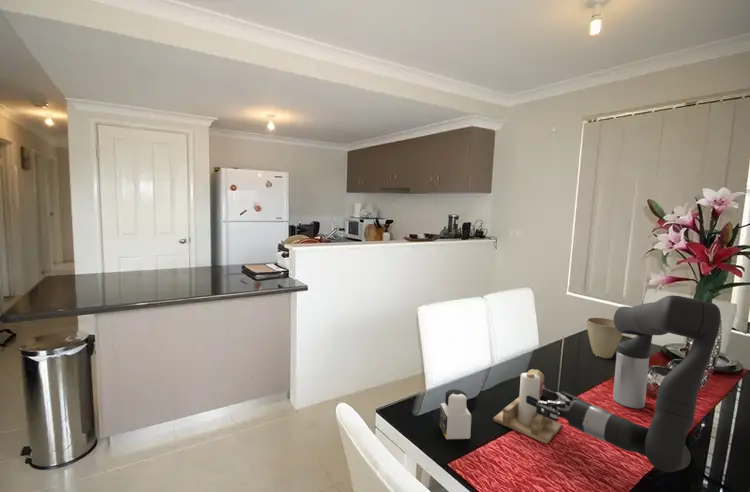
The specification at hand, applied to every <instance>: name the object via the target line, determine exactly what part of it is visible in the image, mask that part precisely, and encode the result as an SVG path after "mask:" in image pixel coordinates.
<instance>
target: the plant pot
mask: <svg viewBox="0 0 750 492" xmlns="http://www.w3.org/2000/svg"><path fill="white" fill-rule="evenodd" d="M586 325H587V326H586V327H587V334H588V339H589V344H590V347H591V351H592V354H593V355H594V354H595V355H594V356H596V357H598V356H599V357H598V358H601V357H602V358H601V359H612V358H613V356H614V355H615V352H617V345H618V343H620V342H621V340H622V337H623V334H624V333H621V332H619V331H618V330H617V329H616V327H615V325H614V319H611V318H605V317H588V318H586Z"/></svg>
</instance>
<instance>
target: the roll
mask: <svg viewBox="0 0 750 492" xmlns="http://www.w3.org/2000/svg"><path fill="white" fill-rule="evenodd" d="M539 388H540V377H539V376H538V375H535V374H532V373H527V372H522V373H521V374H520V383H519V396H518V397H519V410H518V421H519V422H520V423H522V424H524V425H528V426H531V424H532V420H533V419H534V418H535V417H536V416H537V415H538V413H536V407H534V406H532V405H530V404H528V403H526V396H528V395H529V396H531V397H534V398H536V399H538V400H539Z"/></svg>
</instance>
